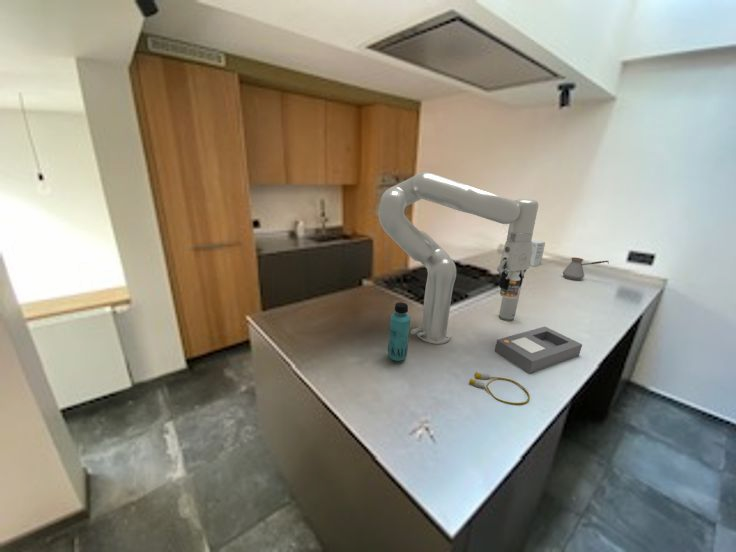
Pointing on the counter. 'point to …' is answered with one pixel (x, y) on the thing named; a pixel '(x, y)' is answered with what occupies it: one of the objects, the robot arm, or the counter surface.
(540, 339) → the socket block
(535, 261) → the supplement box
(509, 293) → the pill bottle
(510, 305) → the travel mug
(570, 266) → the coffee pot
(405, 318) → the beverage bottle
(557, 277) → the counter surface
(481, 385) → the yellow connector cable
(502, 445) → the counter surface
